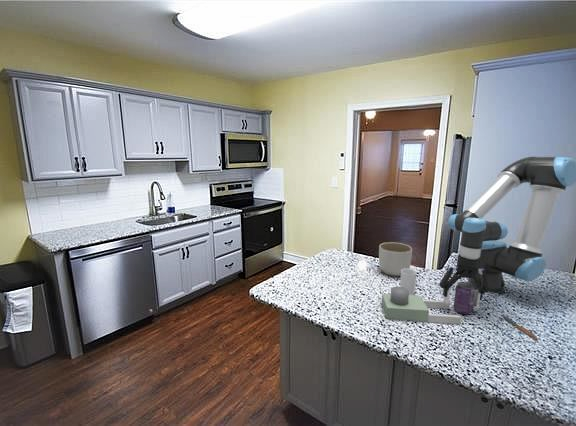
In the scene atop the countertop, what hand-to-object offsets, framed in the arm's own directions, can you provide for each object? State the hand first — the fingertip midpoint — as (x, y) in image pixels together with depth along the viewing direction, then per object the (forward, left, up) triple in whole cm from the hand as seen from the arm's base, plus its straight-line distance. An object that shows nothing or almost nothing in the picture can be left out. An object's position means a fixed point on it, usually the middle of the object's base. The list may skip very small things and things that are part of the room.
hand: (460, 304), depth 121 cm
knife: (-17, +9, -4) cm, 19 cm away
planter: (+20, -37, -3) cm, 42 cm away
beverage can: (-1, 0, -3) cm, 3 cm away
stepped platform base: (+18, +4, -3) cm, 18 cm away
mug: (+19, -13, -3) cm, 23 cm away
